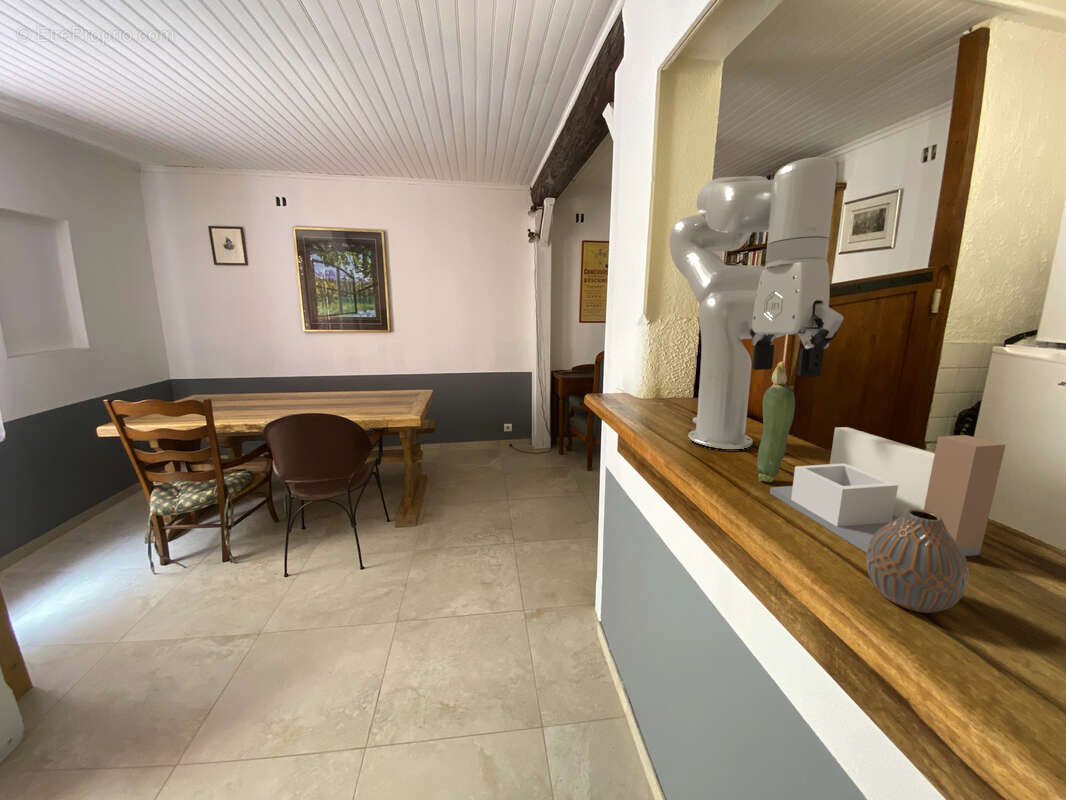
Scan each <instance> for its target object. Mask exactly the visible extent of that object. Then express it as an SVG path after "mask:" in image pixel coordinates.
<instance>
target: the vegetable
mask: <svg viewBox="0 0 1066 800" xmlns="http://www.w3.org/2000/svg"><path fill="white" fill-rule="evenodd" d="M785 364H786V361H784V360H783V361H780V362H778V363H777V366H776V367H775V369H774V370H773V372H772V376H771V381H772V383H773V384H772V385H770V387H768V388H767V389H766V391H765V392H764V394H763V398H762V404H761V405H762V406H761V407H762V422H763V424H762V425H763V427H762V428H763V429H762V434H761V435H762V436H761V440H760V443H759V446H758V452H757V460H756V469H757V472H758V476H757V478H758V481H759V482H762V481H763V482H766V483H772V482H773V481H774V479H775V477H776V476H777V475H778V474H779V471H780V469H781V466H782V462H783V460H784V455H785V452H786V446H787V442H788V437H789V433H790V430H791V427H792V424H793V420H794V414H795V408H796V397H795V393H794V391H793V390H792V388H791V387H790V386H789V385H787V384H786V383H787V380H788V379H787V373H786V372H787V371H786V370H787V369H786V366H785Z"/></svg>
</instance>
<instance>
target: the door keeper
mask: <svg viewBox="0 0 1066 800" xmlns="http://www.w3.org/2000/svg"><path fill="white" fill-rule="evenodd" d="M1006 446H1007V445H1006V444H1004V443H1001V442H1000V443H999V442H996V441H991V440H988V439H983V438H980V437H975V436H971V435H966V434H961V435H945V436H937V441H936V445H935V450H934V452H931V451H928V450H925V449H921V448H919V447H918V448H917V447H914V446H912V445H908V444H905V443H901V442H897V441H894V440H891V439H889V438H888V439H887V438H884V437H881V436H878V435H874V434H870V433H868V432H865V431H860V430H858V429H855V428H852V427H847V426H845V427H843V426H841V427H834V432H833V439H832V448H831V454H830V461H829V464H828V463H827V464H814V465H798V466H795V467H794V472H793V473H794V474H793V483H792V485H786V486H771V487H770V488H769V489H770V490H769V494H770V495H771V496H773V497H775V498H776V499H778V500H780V501H781V502H783V503H784V504H787V505H788V506H789V507H791V508H793V509H794V510H796V511H798V512H799V513H801V514H802V515H804V516H806V517H808V518H809V519H811V520H812V521H813V522H816V523H817V524H819V525H821V526H822V527H824V528H826V529H827V530H828V531H831V532H832V533H834V534H835V535H837V536H838V537H840V538H842V539H843V540H845V541H846V542H849V544H851V545H853V546H854V547H856V548H858V549H859V550H861V551H862V552H865V554H867V548H868V545H869V542H870V540H871V539H872V537H873V536H874V534H875V533H876V532H877V531H878V530H879V529H880V528H881V527H883V526H885V525H886V524H888V523H890V522H892V521H894V520H896V519H898V518H899V517H900V516H902V515H903V514H904V513H905V511H906V510H908V509H920V510H925V511H928V512H932V513H934V514H936V515H938V516H940V517H941V518H942V520H943V522H944V525H945V527H946V529H947V531H948V532H949V533H950V535H951V536H952V537H953V539H954V540H955V541H956V542H957V544H958V545H959V547H960V548H961V549H962V551H963V553H964V555H965V557H972V556H980V555H981V551H982V546H983V543H984V538H985V534H986V529H987V526H988V521H989V517H990V514H991V513H990V512H991V509H992V503H993V500H994V497H995V492H996V487H997V484H998V483H997V482H998V479H999V474H1000V470H1001V466H1002V462H1003V458H1004V457H1003V456H1004V453H1005V449H1006Z"/></svg>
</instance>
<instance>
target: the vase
mask: <svg viewBox="0 0 1066 800" xmlns="http://www.w3.org/2000/svg"><path fill="white" fill-rule="evenodd" d="M865 556H866V557H865V563H866V569H867V572H868V576H869V578H870V580H871V582H872V584H873V585H874V586H875V588H876V589H877V590H878V592H880V593H881V594H882V595H883V596H884V598H886V599H887V600H889V601H890V602H892V603H894V604H896V605H898V606H900V607H901V608H904V609H907V610H910V611H913V612H918V613H923V614H931V613H932V614H933V613H938V612H942V611H945V610H948V609H950V608H951V609H952V607H953V606H955V605H956V604H957V603H958V602H959V601H960V600H961V599H962V598H963V596H964V594H965V593H966V590H967V586H968V584H969V577H970V575H969V566H968V565H969V564H968V562H967V558H966V556H965V555H964V553H963V551H962V549H961V548H960V547H959V545H958V544H957V542H956V541H955V540H954V539H953V537H952V536H951V535H950V533H949V532H948V531H947V529H946V527H945V525H944V522H943V520H942V518H941V517H940V516H938V515H936V514H934V513H932V512H928V511H925V510H920V509H908V510H906V511H905V513H904V514H903V515H902V516H900V517H899V518H898V519H896V520H894V521H892V522H890V523H888V524H886V525H885V526H883V527H881V528H880V529H879V530H878V531H877V532H876V533H875V534H874V536H873V537H872V539H871V540H870V542H869V545H868V548H867V553H865Z"/></svg>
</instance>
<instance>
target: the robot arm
mask: <svg viewBox="0 0 1066 800" xmlns="http://www.w3.org/2000/svg"><path fill="white" fill-rule="evenodd" d="M837 175H838V167H837V164H836V161H834V160H833V159H832V158H829V157H826V156H815V157H813V156H812V157H808V158H807V157H806V158H802V159H798V160H795V161H791V162H789V163H788V164H786V165H784V166H781V168H779V169H778V170H777V171H776V173H775V175H774V176H773V179H768V178H767V177H765V176H761V175H753V176H752V175H751V176H750V175H749V176H747V175H746V176H724V177H717V178H714V179H712V180H710V181H709V182H706V184H705V185H704V186H703V187H701V189H700V191H699V192H698V194H697V198H696V207H697V211H698V212H699V214H696V215H695V214H694V215H689V216H686V217H683V218H681V219H679V220H677V222H675V223H674V225H673V226H672V228H671V230H670V233H669V249H670V256H671V259H672V262H673V263H674V265H675V267H676V268H677V270H678V271H679V272H680V273H681V274H682V275H683V277H684V278H685V279H686V280H687V283H688V285H689V286H690V289H691V290H692V293H693V296H694V297H695V299H696V301H697V302H698V303H699V305H700V306H699V328H700V337H701V338H700V339H701V340H700V341H701V349H700V350H701V352H700V354H701V355H700V357H701V358H700V371H699V373H700V374H699V389H698V401H697V415H696V417H693V418H692V422H693V424H696V425H695V430H694V429H693V430H691V431H690V432H688V435H687V436H688V437H689V438H690V439H691V440H692V441H694V442H696V443H699V444H702V445H705V446H709V447H715V448H722V449H743V450H745V449H744V448H747V449H749V448H748V447H750V446H751V445H752V446H753V442H754V441H753V439H752V437H750V436H748V435H747V434H746V428H747V418H748V417H747V415H748V406H749V394H750V385H751V374H752V370H754V371H755V370H756V371H760V370H765V371H767V370H771V369H773V366H774V365H773V363H774V352H775V344H772V343H773V342H774V340H775V339H776V338H781V337H784V336H786V335H788V336H789V335H798V337H799V339H800V341H801V343H802V345H803V348H800V349H799V356H798V363H797V377H798V378H799V377H800V378H818V377H821V375H822V370H823V360H824V353H825V349H828V347H829V346H830V343H831V341H832V340H833V339H834V338H835V337H836V336H837V331H838V330H839V328H840V326H841V324H842V322H843V320H844V315H842V314H841V313H839V312H837V311H836V310H834V309H832V308H831V307H829V306H830V292H831V291H830V287H831V286H830V285H831V284H830V268H829V262H828V261H827V259H828V253H829V251H828V250H829V243H830V234H831V225H832V216H833V208H834V199H835V192H836V183H837ZM764 232H765V233H768V234H767V242H766V244H767V245H766V254H765V255H766V256H765V266H764V265H757V264H756V265H755V264H753V265H728V264H726V263H725V262H724V261H723V259H722V257H720V255H718V254H717V253H715V252H733V251H736V250H739V249H741V248H742V247H743V246H744V245H745V243H746V242H747V241H748V239H749V238H750V237H751V235H752V234H753V233H764ZM746 339H748V340H749V339H752V340H751V345H753V354H752V355H753V356H752V358H751V356H750V355H751V354H750V353H749V352H748V350H747V349H746V347H745V346H744V344H743V342H742V341H741V340H746ZM688 437H687V438H688ZM752 446H751V447H752ZM751 447H750V448H751Z"/></svg>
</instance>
